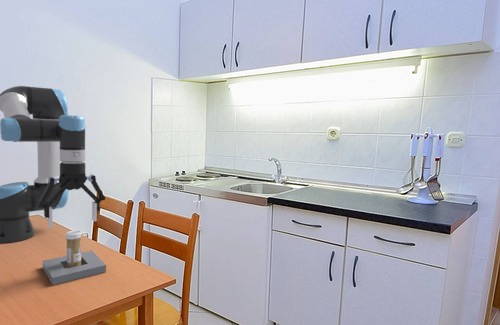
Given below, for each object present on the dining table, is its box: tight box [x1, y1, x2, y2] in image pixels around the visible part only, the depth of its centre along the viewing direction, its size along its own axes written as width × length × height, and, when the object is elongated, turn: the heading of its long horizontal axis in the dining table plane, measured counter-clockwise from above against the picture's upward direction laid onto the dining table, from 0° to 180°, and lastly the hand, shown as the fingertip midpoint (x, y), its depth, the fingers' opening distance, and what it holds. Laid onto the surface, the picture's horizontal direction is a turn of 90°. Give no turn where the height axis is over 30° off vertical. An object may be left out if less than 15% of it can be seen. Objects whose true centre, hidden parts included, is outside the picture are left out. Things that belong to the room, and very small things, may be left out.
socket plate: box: [42, 250, 107, 286], centre depth 112 cm, size 16×16×2 cm
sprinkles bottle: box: [65, 230, 82, 269], centre depth 111 cm, size 5×5×14 cm
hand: (73, 223), depth 111 cm, fingers open, 13 cm apart
